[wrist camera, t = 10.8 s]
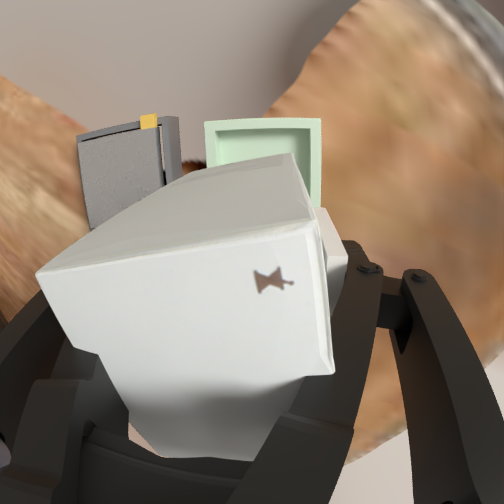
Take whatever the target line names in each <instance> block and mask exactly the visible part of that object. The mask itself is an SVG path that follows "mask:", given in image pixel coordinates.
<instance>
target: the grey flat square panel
mask: <svg viewBox="0 0 504 504" xmlns="http://www.w3.org/2000/svg"><path fill="white" fill-rule="evenodd" d="M78 150H79V160H80V168H81V176H82V183H83V189H84V196H85V201H86V207H87V212H88V218H89V223H90V227H91V228H97V227H98V226H100V225H101V224H103V223H104V222H106V221H107V220H109V219H110V218H112V217H113V216H115V215H116V214H118V213H120V212H121V211H123V210H125V209H126V208H128V207H129V206H131V205H133V204H135V203H136V202H138V201H140V200H142V199H143V198H145V197H146V196H148V195H150V194H152V193H153V192H155V191H157V190H158V189H160V188H162V187H164V178H163V168H162V157H161V144H160V131H159V127H153V128H147V129H141V130H136V131H130V132H126V133H120V134H115V135H111V136H106V137H102V138H98V139H93V140H89V141H85V142H81V143H78Z"/></svg>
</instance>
